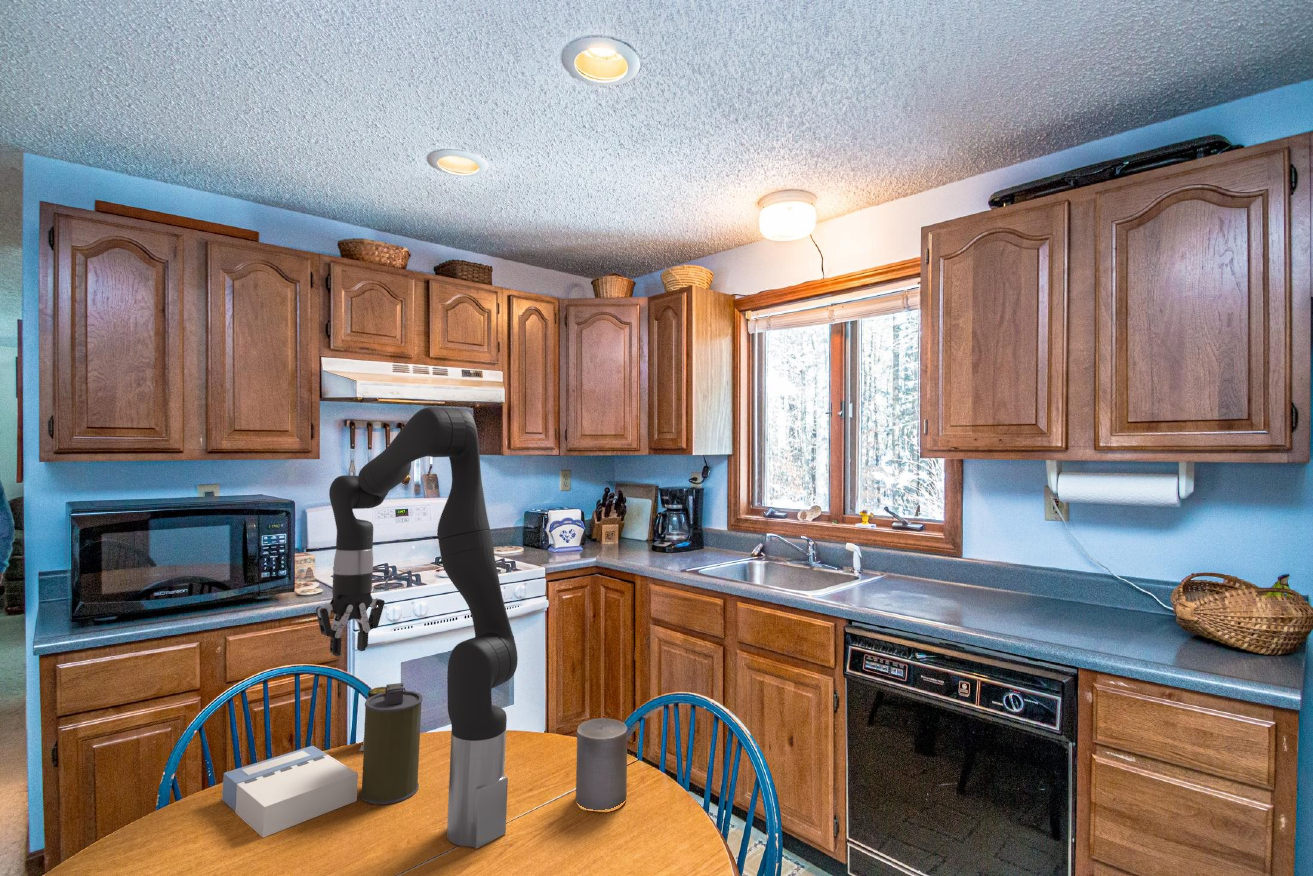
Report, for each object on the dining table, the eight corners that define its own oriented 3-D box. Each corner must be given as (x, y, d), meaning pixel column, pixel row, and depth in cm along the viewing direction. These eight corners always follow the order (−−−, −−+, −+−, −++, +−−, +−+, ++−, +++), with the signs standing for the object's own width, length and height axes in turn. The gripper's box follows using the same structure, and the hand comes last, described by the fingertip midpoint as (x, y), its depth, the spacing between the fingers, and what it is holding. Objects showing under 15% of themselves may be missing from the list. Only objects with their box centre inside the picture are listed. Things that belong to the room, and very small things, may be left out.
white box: (356, 800, 121) (358, 772, 121) (262, 837, 108) (264, 806, 108) (326, 780, 128) (327, 754, 128) (235, 812, 115) (236, 783, 116)
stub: (325, 779, 128) (326, 753, 128) (234, 811, 116) (236, 782, 116) (311, 769, 132) (313, 745, 132) (222, 799, 119) (223, 772, 119)
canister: (421, 799, 122) (426, 691, 123) (360, 809, 118) (366, 698, 119) (415, 773, 132) (420, 674, 133) (359, 783, 127) (364, 679, 128)
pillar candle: (611, 783, 130) (612, 708, 131) (635, 805, 122) (637, 724, 122) (566, 796, 125) (568, 717, 125) (589, 820, 117) (591, 735, 117)
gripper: (327, 576, 128) (322, 664, 127) (394, 569, 139) (390, 649, 138) (309, 572, 133) (305, 656, 132) (376, 565, 144) (372, 642, 143)
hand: (349, 652), depth 135 cm, fingers open, 4 cm apart
